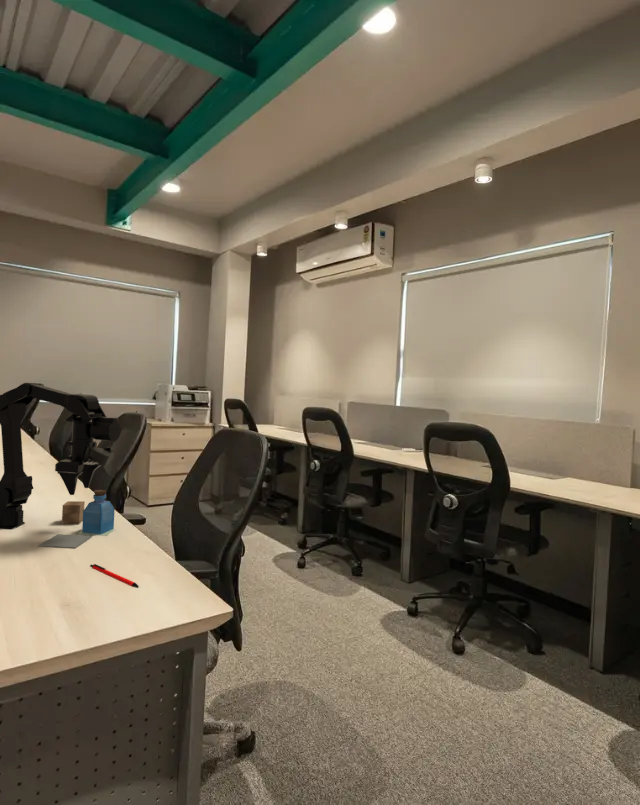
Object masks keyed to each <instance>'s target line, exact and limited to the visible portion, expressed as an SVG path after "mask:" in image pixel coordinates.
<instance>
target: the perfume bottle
mask: <svg viewBox="0 0 640 805" xmlns="http://www.w3.org/2000/svg"><path fill="white" fill-rule="evenodd" d="M93 492H94V494H93V496H92V498H93V501H90V502H88V504H87V505H86V506H85V507H84V511H83V521H82V525H81V526H82V527H81V531H82V532H85V533H93V534H100V535H101V534H103V533H105V532H108V531H110V530H112V529H114V527H115V507H114V506H113V504H112V503H111V501H109V500H106V499H107V494H106V490H105V489H95V490H93ZM114 530H115V529H114Z"/></svg>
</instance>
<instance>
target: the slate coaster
mask: <svg viewBox="0 0 640 805" xmlns="http://www.w3.org/2000/svg"><path fill="white" fill-rule="evenodd" d="M91 538H93V535H78V534H62V533H60V534H59V533H57V534H55V535H54V536H52V537H49V538H48V539H47V540H45V541H43V542H42V543H39V544H38V545H37V547H38V548H39V547H40V548H56V549H57V548H58V549H77V548H79V547H80V546H81V545H83V544H84V543H86V542H87V541H89V540H91Z"/></svg>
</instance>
